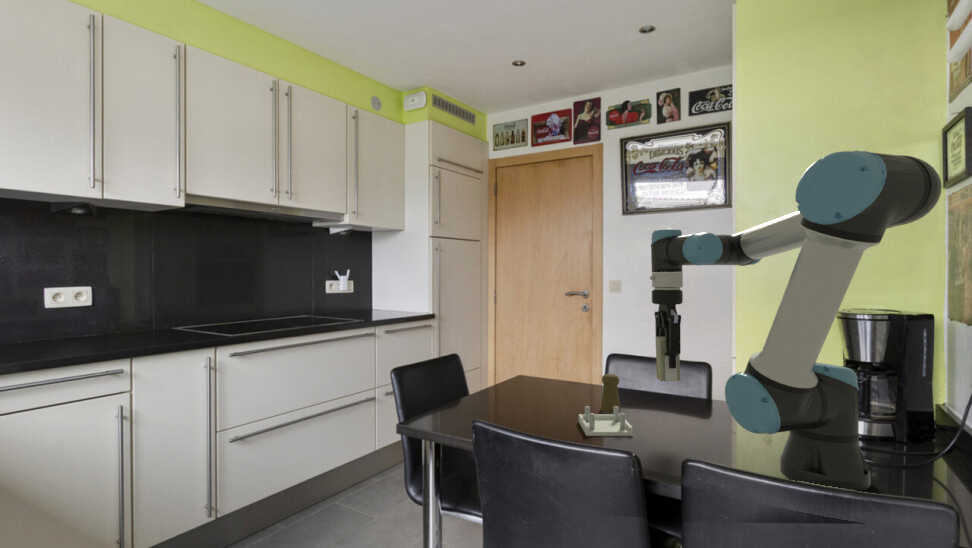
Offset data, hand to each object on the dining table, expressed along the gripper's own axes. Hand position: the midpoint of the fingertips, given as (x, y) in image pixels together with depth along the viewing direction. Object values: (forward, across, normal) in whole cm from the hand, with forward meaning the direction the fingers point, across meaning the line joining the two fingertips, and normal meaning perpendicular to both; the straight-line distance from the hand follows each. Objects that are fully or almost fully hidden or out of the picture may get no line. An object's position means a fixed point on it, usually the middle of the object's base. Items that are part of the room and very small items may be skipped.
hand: (667, 378), depth 125 cm
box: (+1, 0, 0) cm, 1 cm away
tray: (+15, -5, -15) cm, 22 cm away
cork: (+15, -24, -10) cm, 30 cm away
